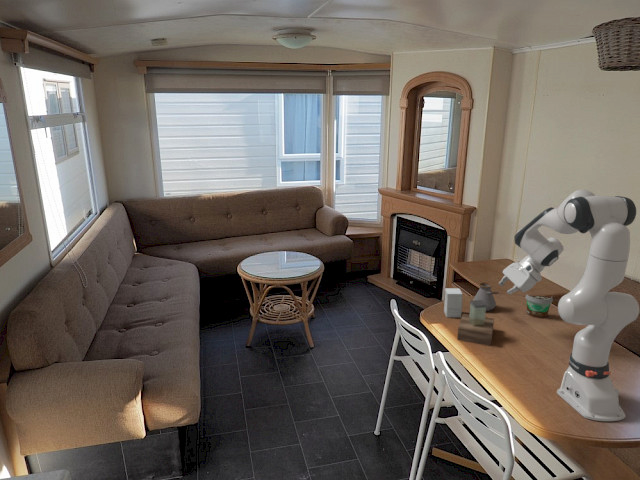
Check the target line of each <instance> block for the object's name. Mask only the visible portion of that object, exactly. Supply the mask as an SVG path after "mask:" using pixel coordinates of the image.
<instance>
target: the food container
mask: <svg viewBox="0 0 640 480" xmlns="http://www.w3.org/2000/svg"><path fill="white" fill-rule="evenodd" d="M524 298H525V299H526V314H527V315H529V316H530V317H533V318H537V319H545V318H547V317H548V315H549V311H550V307H551V304H552V303H553V300H554V298H553V296H551V297H545V296H540V295H529V294H526V295H525V297H524Z"/></svg>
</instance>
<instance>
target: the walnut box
mask: <svg viewBox="0 0 640 480" xmlns="http://www.w3.org/2000/svg"><path fill="white" fill-rule="evenodd" d="M494 323H495V318H492V317H487V316H485V322H484V325H483V326H473V325H472V324H471V323H470V322H469V314H467V313H461V317H460V322H459V325H458V329H457V338H456V339H457V341H461V342H466V343H467V342H468V343H473V344H480V345H485V346H492V339H493V332H494Z"/></svg>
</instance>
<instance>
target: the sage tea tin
mask: <svg viewBox="0 0 640 480" xmlns="http://www.w3.org/2000/svg"><path fill="white" fill-rule="evenodd" d="M469 304H470V305H469V314H468V315H469V322H470V323H471V324H472V325H473V326H483V325H484V322H485V317H486V312H487V311H486V304H485V303H484V302H483V301H482V300H474V301H473V300H470V301H469Z"/></svg>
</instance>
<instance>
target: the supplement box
mask: <svg viewBox="0 0 640 480" xmlns="http://www.w3.org/2000/svg"><path fill="white" fill-rule="evenodd" d="M463 295H464V294H463V292H462V289H460V288H456V287H454V288H452V287H451V288H450V287H449V288H446V287H445V289H444V304H443V305H444V307H443V313H444V315H445V317H446V318H462V312H463V311H462V310H463V308H462V307H463Z"/></svg>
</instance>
